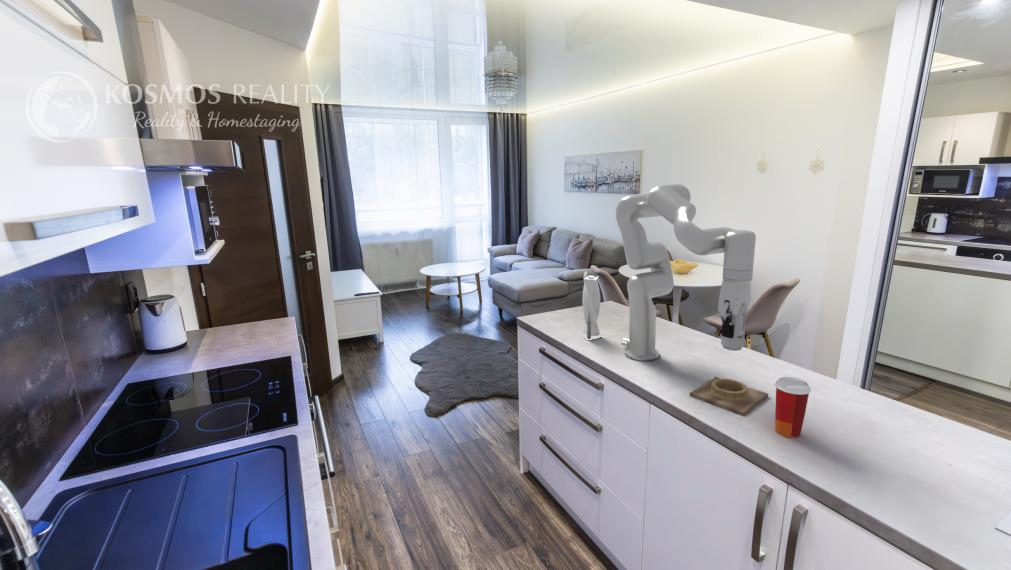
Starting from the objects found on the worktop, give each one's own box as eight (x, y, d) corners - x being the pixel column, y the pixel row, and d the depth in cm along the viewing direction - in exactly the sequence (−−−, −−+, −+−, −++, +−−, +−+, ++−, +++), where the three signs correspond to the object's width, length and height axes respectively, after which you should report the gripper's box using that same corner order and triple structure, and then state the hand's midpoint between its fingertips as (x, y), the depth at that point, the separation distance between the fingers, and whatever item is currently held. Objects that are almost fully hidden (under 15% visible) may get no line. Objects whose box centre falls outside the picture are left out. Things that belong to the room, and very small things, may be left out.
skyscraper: (577, 335, 192) (576, 272, 185) (592, 331, 195) (592, 269, 188) (588, 340, 184) (588, 275, 178) (604, 337, 187) (604, 273, 181)
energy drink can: (742, 352, 126) (746, 302, 122) (719, 349, 129) (722, 300, 126) (744, 345, 131) (748, 297, 127) (722, 342, 134) (725, 295, 131)
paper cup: (800, 426, 117) (806, 377, 113) (809, 442, 110) (815, 391, 106) (766, 422, 119) (771, 374, 116) (773, 437, 112) (778, 387, 109)
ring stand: (689, 395, 135) (690, 385, 134) (715, 379, 145) (716, 369, 144) (743, 415, 123) (744, 404, 122) (768, 396, 132) (769, 385, 131)
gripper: (738, 267, 133) (733, 324, 137) (709, 277, 123) (705, 338, 127) (764, 271, 127) (759, 330, 131) (736, 281, 117) (731, 345, 121)
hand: (733, 333), depth 129 cm, fingers closed on energy drink can, 6 cm apart
